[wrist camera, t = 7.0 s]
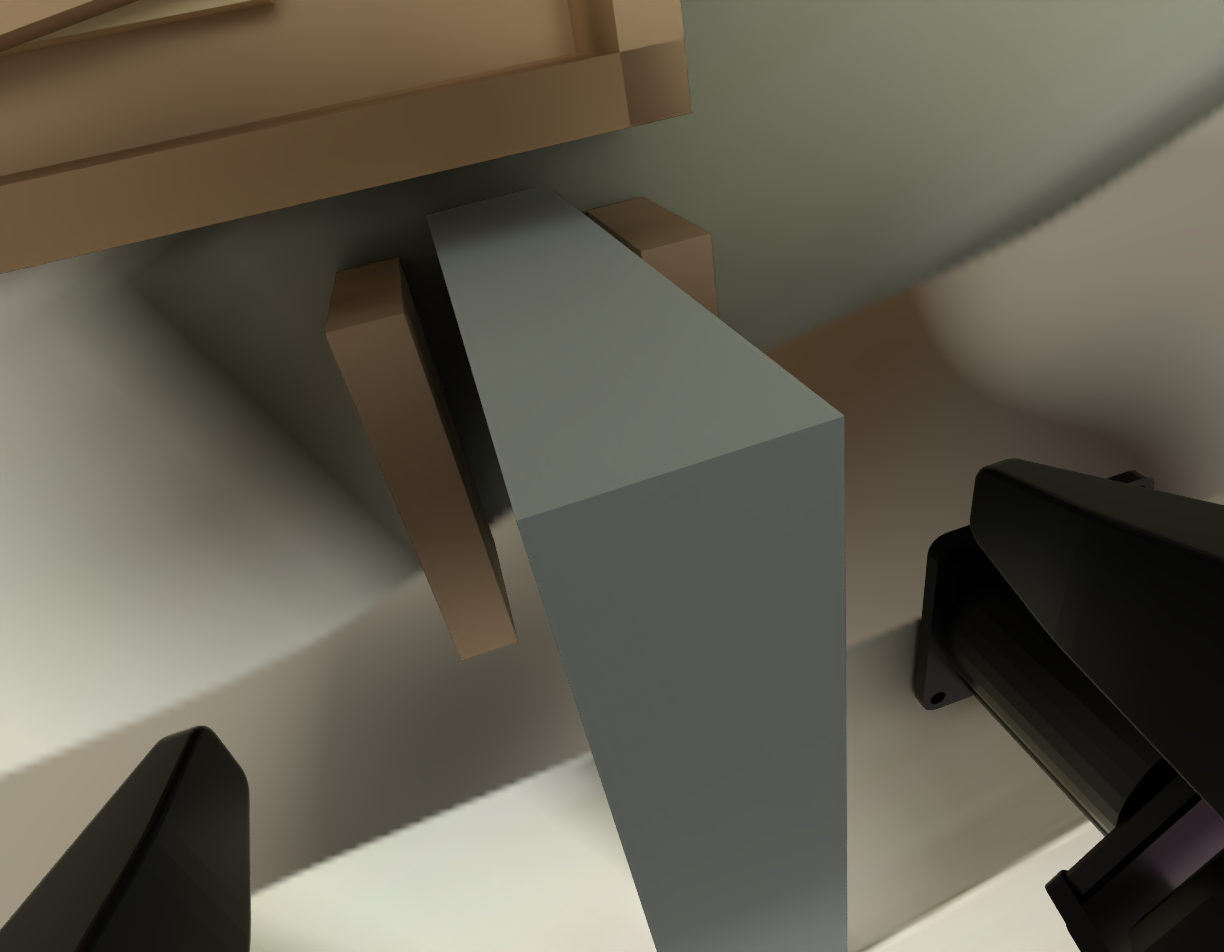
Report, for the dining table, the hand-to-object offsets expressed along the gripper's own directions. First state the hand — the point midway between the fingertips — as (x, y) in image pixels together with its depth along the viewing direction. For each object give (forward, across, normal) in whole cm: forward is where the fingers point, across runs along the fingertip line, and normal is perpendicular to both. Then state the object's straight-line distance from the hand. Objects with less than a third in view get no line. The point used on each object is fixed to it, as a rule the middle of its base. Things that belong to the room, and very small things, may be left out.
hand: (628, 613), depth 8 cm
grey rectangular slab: (+6, 0, 0) cm, 6 cm away
